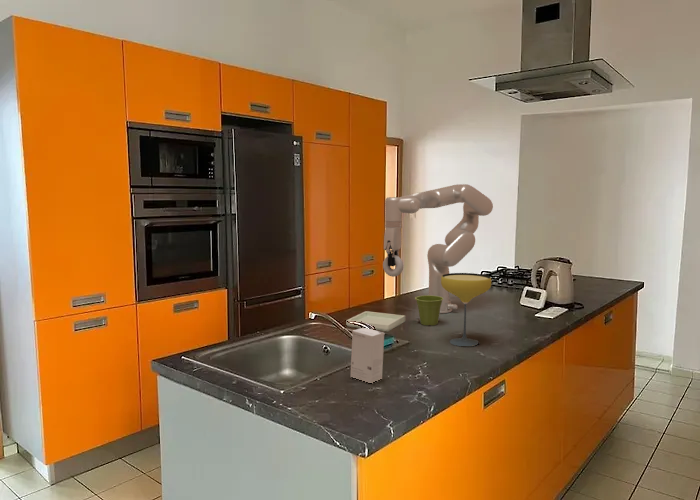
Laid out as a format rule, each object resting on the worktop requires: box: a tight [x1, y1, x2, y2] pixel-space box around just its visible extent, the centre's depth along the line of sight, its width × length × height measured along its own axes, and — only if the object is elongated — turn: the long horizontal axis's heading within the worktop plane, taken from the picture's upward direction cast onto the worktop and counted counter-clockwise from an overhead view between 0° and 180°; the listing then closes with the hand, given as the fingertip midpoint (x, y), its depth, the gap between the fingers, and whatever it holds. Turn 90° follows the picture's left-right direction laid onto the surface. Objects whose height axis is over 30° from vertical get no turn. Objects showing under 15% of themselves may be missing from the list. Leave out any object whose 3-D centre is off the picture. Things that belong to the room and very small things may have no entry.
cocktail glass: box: [441, 272, 492, 347], centre depth 194 cm, size 18×18×25 cm
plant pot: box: [414, 294, 443, 327], centre depth 223 cm, size 12×12×11 cm
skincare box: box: [350, 328, 385, 384], centre depth 157 cm, size 8×6×15 cm
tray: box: [345, 310, 406, 332], centre depth 224 cm, size 19×19×2 cm
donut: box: [382, 255, 404, 278], centre depth 237 cm, size 10×4×10 cm, turn 59°
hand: (393, 265), depth 237 cm, fingers closed on donut, 3 cm apart
